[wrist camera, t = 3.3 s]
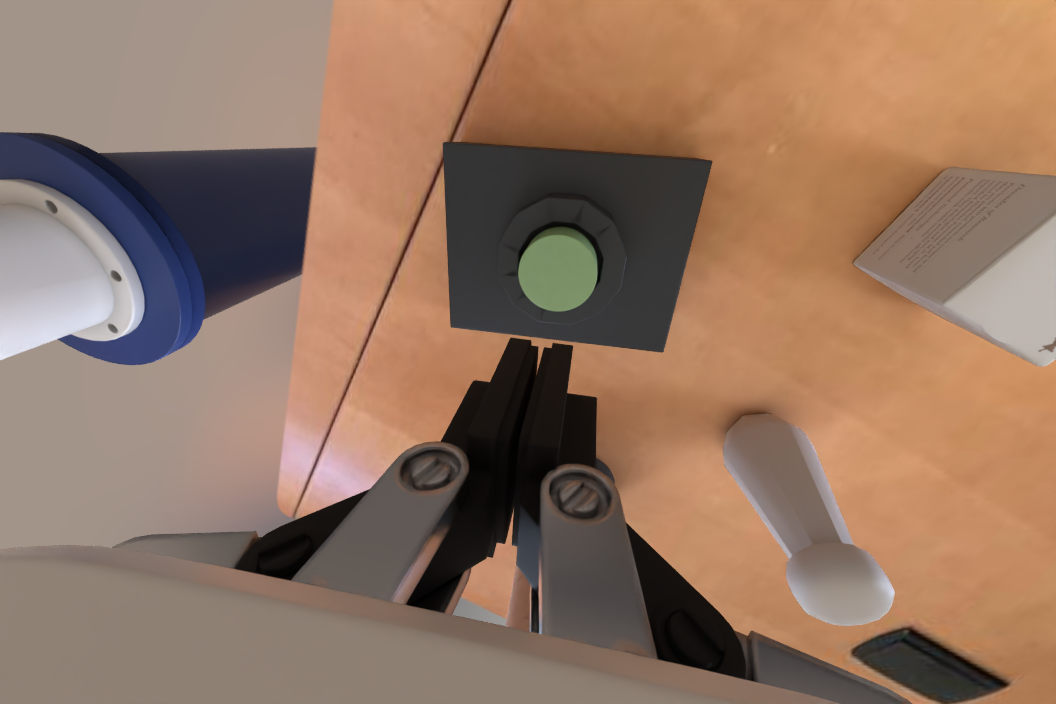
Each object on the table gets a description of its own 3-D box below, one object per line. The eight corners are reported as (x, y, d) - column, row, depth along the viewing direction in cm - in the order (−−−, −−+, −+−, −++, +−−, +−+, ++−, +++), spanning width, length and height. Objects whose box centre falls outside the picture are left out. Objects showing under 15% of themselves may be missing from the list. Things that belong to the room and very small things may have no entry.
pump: (522, 294, 23) (516, 307, 21) (526, 223, 21) (519, 230, 19) (591, 301, 22) (591, 315, 21) (602, 229, 20) (602, 238, 19)
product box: (1032, 222, 21) (1218, 258, 15) (925, 311, 24) (1043, 373, 18) (946, 163, 21) (1102, 174, 14) (847, 262, 24) (940, 308, 17)
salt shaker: (699, 442, 31) (757, 613, 20) (748, 390, 29) (848, 555, 17) (761, 472, 32) (852, 655, 21) (815, 424, 29) (956, 605, 18)
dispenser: (463, 310, 29) (440, 340, 25) (459, 141, 24) (428, 142, 19) (657, 332, 27) (668, 369, 23) (698, 158, 22) (724, 162, 18)
